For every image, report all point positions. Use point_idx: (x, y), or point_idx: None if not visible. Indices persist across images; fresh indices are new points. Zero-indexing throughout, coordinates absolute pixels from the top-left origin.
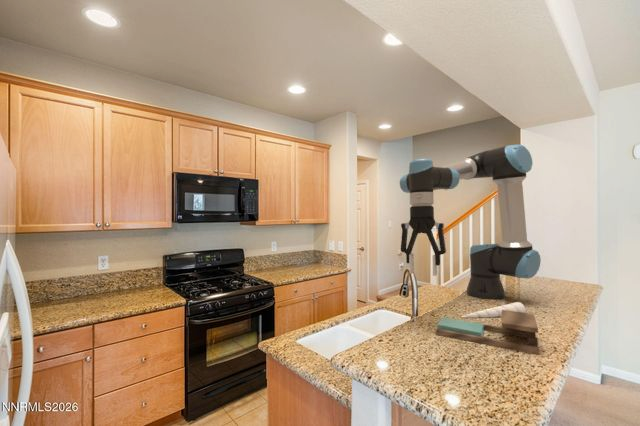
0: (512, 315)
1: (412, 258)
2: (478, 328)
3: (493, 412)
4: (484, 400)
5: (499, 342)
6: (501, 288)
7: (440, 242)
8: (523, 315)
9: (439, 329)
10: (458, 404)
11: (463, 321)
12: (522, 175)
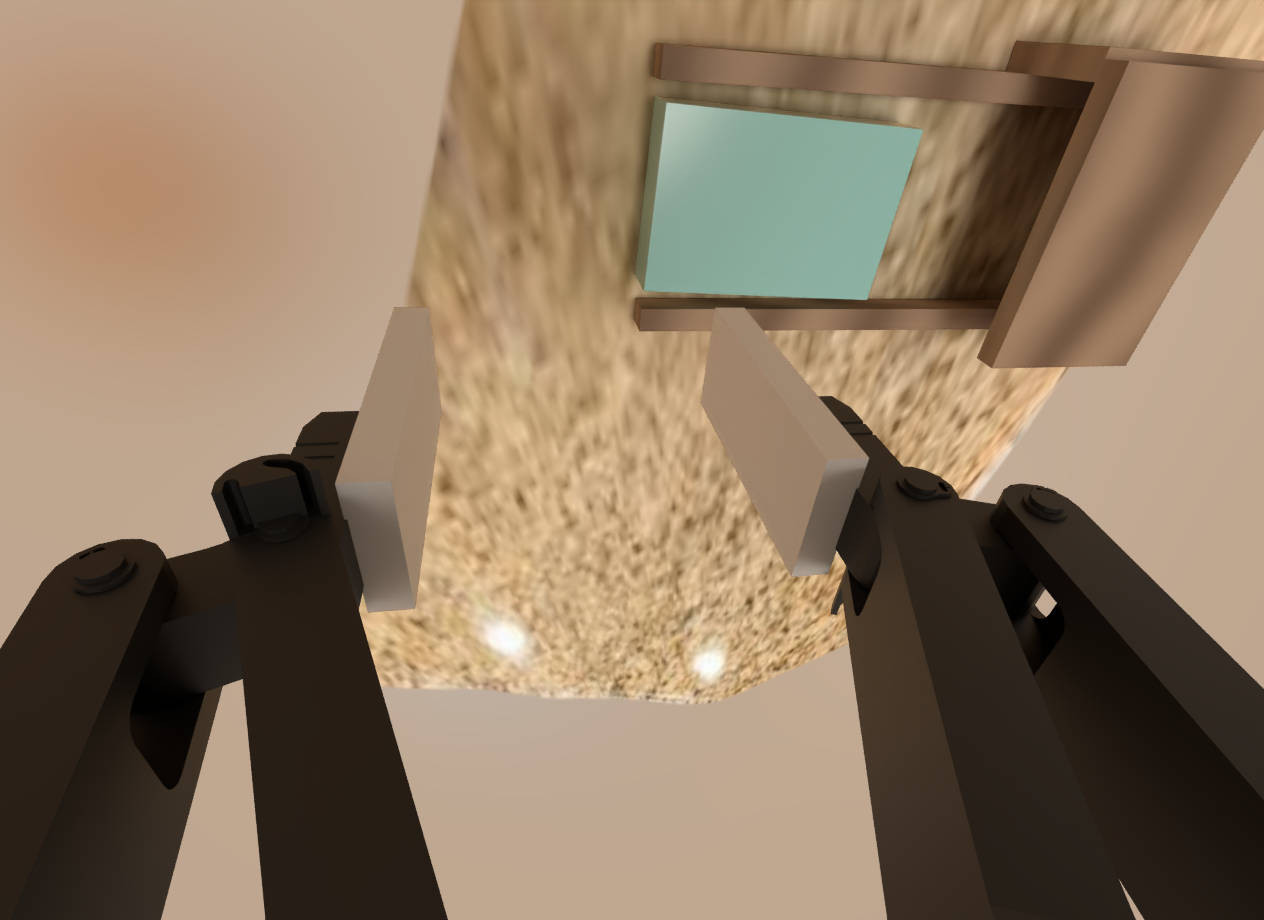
0: (1124, 193)
1: (415, 499)
2: (869, 235)
3: (785, 657)
4: (775, 636)
5: (920, 327)
6: None
7: (1083, 786)
8: (1197, 154)
9: (655, 317)
10: (721, 670)
11: (803, 138)
12: None
